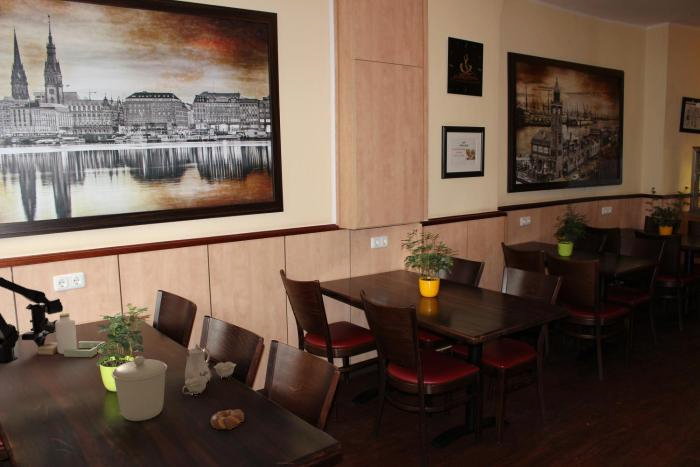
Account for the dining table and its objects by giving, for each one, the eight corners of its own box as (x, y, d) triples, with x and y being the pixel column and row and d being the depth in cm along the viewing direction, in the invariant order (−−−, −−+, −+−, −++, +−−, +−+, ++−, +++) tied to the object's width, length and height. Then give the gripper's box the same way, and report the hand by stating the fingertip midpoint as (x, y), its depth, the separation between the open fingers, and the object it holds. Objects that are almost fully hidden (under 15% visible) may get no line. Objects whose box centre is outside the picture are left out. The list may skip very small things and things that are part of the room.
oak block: (52, 355, 264) (51, 348, 263) (38, 354, 264) (38, 347, 264) (63, 349, 271) (62, 342, 271) (49, 349, 272) (49, 342, 272)
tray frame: (91, 357, 259) (90, 350, 259) (64, 356, 260) (63, 350, 260) (106, 347, 272) (105, 341, 272) (80, 347, 273) (79, 341, 273)
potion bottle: (57, 350, 269) (54, 313, 267) (77, 347, 273) (74, 311, 270) (57, 355, 262) (53, 317, 259) (77, 353, 265) (74, 315, 263)
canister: (115, 408, 204) (111, 352, 201) (168, 400, 210) (165, 345, 207) (113, 430, 187) (109, 369, 184) (171, 421, 193) (167, 361, 190)
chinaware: (201, 405, 210) (203, 362, 207) (163, 395, 215) (164, 353, 212) (240, 377, 236) (242, 339, 233) (205, 369, 241) (207, 331, 238)
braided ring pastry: (232, 413, 199) (231, 402, 199) (252, 421, 192) (252, 411, 192) (203, 424, 190) (203, 414, 190) (223, 434, 183) (223, 423, 183)
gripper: (42, 322, 256) (45, 356, 258) (66, 311, 275) (69, 342, 277) (19, 322, 257) (22, 355, 259) (44, 311, 276) (47, 342, 278)
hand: (41, 349), depth 268 cm, fingers closed
